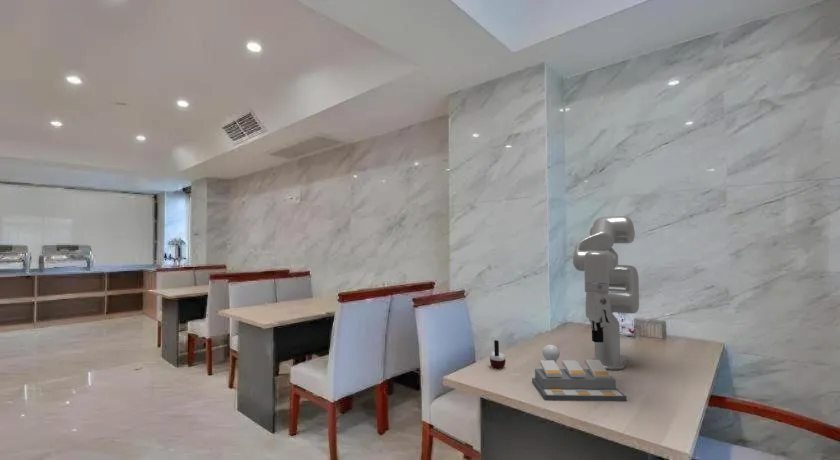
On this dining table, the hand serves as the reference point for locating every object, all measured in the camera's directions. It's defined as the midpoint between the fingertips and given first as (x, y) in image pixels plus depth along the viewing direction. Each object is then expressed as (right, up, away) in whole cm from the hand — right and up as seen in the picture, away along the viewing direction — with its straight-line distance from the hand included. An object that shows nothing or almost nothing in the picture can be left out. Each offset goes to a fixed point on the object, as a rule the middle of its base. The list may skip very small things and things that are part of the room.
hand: (597, 341), depth 130 cm
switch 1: (-15, -11, +3) cm, 19 cm away
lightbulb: (-9, -18, +19) cm, 28 cm away
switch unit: (-7, -17, +1) cm, 18 cm away
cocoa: (-29, -18, +25) cm, 43 cm away
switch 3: (+1, -11, +3) cm, 11 cm away
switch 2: (-7, -11, +3) cm, 13 cm away
